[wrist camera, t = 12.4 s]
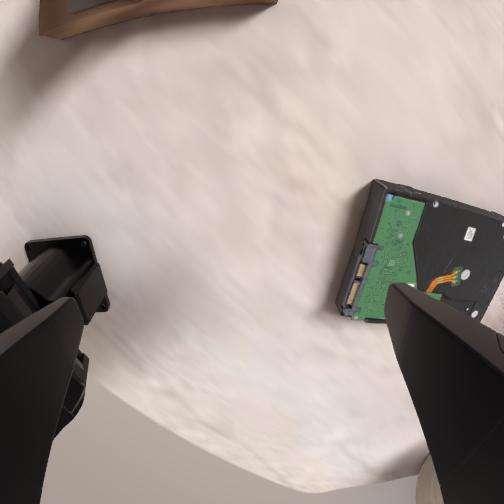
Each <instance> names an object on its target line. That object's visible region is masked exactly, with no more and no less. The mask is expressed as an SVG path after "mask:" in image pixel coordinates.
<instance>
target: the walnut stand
mask: <svg viewBox="0 0 504 504" xmlns="http://www.w3.org/2000/svg"><path fill="white" fill-rule="evenodd" d="M277 2H278V0H40V12H39V35H42V36H47V37H52V38H57V39H62V40H63V39H66V38H69V37H72V36H75V35H78V34H81V33H84V32H87V31H90V30H94V29H97V28H100V27H104V26H108V25H111V24H115V23H119V22H123V21H127V20H132V19H136V18H141V17H145V16H150V15H156V14H161V13H167V12H173V11H179V10H186V9H194V8H202V7H212V6H224V5H239V4H277Z"/></svg>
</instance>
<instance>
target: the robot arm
mask: <svg viewBox="0 0 504 504" xmlns="http://www.w3.org/2000/svg"><path fill="white" fill-rule="evenodd" d="M83 241H85V242H86V243H87V245H85V244H84V242H83ZM29 246H30V247H31V248H30V247H29ZM25 251H26V254H27V257H28V260H29V263H28V264H27V265H26V266H25V267H24V268H23V269H22V270H21V271H20V272H19V273H17V271H16V270H15V268H14V267H13V266H14V264H13V263H12V261H11V260H10V258H9V259H8V260H7V261H6V262H5V263H4V264H2V262H0V504H40V499H41V493H42V487H43V482H44V477H45V472H46V467H47V463H48V458H49V454H50V450H51V446H52V442H53V440H54V438H55V437H56V436H57V435H58V434H59V432H60V431H61V430H62V429H63V428H64V427H65V426H66V425H67V424H68V423H69V422H71V421H72V420H73V418H74V417H75V416H76V415H77V413H78V412H79V410H80V408H81V406H82V404H83V400H84V396H85V387H86V379H87V371H88V364H89V358H88V357H87V356H86V355H85V354H84V353H82V352H81V351H80V350H79V349H78V348H79V344H80V340H81V336H82V332H83V328H84V325H88V324H89V322H90V321H91V319H92V317H93V315H94V314H95V312H107V311H108V309H109V308H110V303H109V300H108V296H107V289H106V285H105V282H104V279H103V275H102V272H101V268H100V265H99V263H98V262H97V259H96V256H95V252H94V248H93V244H92V241H91V239H90V237H88V236H86V235H82V236H71V237H60V238H50V239H40V240H30V241H28V242H27V243H26V244H25ZM102 304H103V305H105V306H103V305H102ZM384 316H385V319H386V323H387V326H388V330H389V333H390V337H391V340H392V344H393V348H394V351H395V355H396V358H397V361H398V364H399V367H400V369H401V372H402V374H403V377H404V380H405V382H406V385H407V387H408V390H409V393H410V396H411V398H412V401H413V404H414V407H415V410H416V412H417V415H418V418H419V421H420V424H421V427H422V430H423V433H424V436H425V439H426V442H427V445H428V449H429V452H430V455H431V458H432V461H433V465H434V468H435V472H436V475H437V479H438V482H439V485H440V490H441V494H442V498H443V501H444V504H504V336H503V335H502V334H500V333H496V331H494V330H492V329H491V328H489V327H487V326H485V325H483V324H482V323H480V322H478V321H476V320H474V319H472V318H471V317H469V316H467V315H465V314H463V313H461V312H460V311H458V310H456V309H454V308H452V307H450V306H448V305H446V304H445V303H443V302H441V301H439V300H437V299H435V298H433V297H431V296H429V295H427V294H425V293H424V292H422V291H420V290H418V289H416V288H414V287H412V286H410V285H408V284H406V283H404V282H397V283H391V284H390V285H389V287H388V290H387V295H386V300H385V305H384Z"/></svg>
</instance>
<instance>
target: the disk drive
mask: <svg viewBox="0 0 504 504" xmlns="http://www.w3.org/2000/svg"><path fill="white" fill-rule="evenodd" d="M503 276H504V216H502V215H500V214H498V213H495V212H492V211H491V212H489V211H487V210H484V209H480V208H478V207H474V206H471V205H468V204H465V203H461V202H458V201H455V200H451V199H448V198H445V197H441V196H438V195H434V194H431V193H427V192H424V191H420V190H416V189H414V188H412V187H409V186H405V185H401V184H394V183H390V182H387V181H383V180H378V179H374V180H373V181H372V185H371V189H370V193H369V197H368V201H367V204H366V207H365V211H364V214H363V217H362V221H361V224H360V228H359V231H358V234H357V238H356V242H355V245H354V249H353V252H352V254H351V257H350V260H349V263H348V266H347V270H346V273H345V276H344V279H343V282H342V285H341V288H340V291H339V293H338V296H337V299H336V305H337V308H338V311H339V313H340V315H341V316H349V317H351V320H364V322H366V323H386V319H385V316H384V305H385V300H386V295H387V290H388V287H389V285H390V284H391V283H397V282H404V283H406V284H408V285H410V286H412V287H414V288H416V289H418V290H420V291H422V292H424V293H425V294H427V295H429V296H431V297H433V298H435V299H437V300H439V301H441V302H443V303H445V304H446V305H448V306H450V307H452V308H454V309H456V310H458V311H460V312H461V313H463V314H465V315H467V316H469V317H471V318H472V319H474V320H476V321H478V322H480V321H481V320H482V318H483V316H484V314H485V312H486V310H487V308H488V306H489V304H490V302H491V300H492V299H493V297H494V294H495V292H496V291H497V289H498V287H499V284H500V282H501V281H502V278H503Z"/></svg>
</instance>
